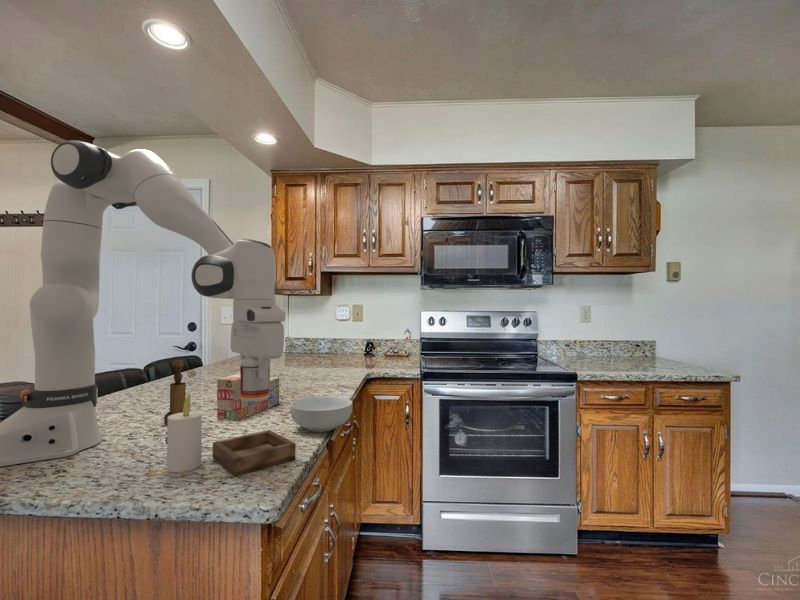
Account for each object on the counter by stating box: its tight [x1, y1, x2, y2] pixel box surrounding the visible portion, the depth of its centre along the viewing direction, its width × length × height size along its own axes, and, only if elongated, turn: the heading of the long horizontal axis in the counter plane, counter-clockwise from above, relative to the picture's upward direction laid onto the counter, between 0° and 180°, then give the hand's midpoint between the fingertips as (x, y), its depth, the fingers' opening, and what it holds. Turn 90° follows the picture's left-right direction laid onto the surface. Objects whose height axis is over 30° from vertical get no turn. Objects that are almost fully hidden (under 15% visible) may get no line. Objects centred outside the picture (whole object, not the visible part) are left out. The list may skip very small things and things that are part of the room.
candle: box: [165, 393, 203, 473], centre depth 83 cm, size 6×6×15 cm
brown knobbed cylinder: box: [163, 359, 187, 426], centre depth 115 cm, size 7×6×18 cm
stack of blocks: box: [216, 373, 280, 421], centre depth 127 cm, size 21×6×12 cm, turn 160°
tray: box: [212, 429, 297, 478], centre depth 87 cm, size 13×13×4 cm
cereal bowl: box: [290, 395, 354, 433], centre depth 109 cm, size 17×17×7 cm
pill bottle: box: [239, 347, 271, 401], centre depth 87 cm, size 6×6×11 cm
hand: (254, 376), depth 87 cm, fingers closed on pill bottle, 6 cm apart
